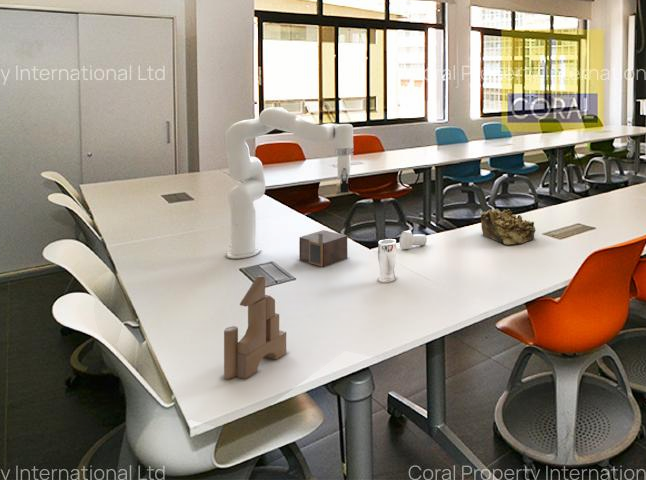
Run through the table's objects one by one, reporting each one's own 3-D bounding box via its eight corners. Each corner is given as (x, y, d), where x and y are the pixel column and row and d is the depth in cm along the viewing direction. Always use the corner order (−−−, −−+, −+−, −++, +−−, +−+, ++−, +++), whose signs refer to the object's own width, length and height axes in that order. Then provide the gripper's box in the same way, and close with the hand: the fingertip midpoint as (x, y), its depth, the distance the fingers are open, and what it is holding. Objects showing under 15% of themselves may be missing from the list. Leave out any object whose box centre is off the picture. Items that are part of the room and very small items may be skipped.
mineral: (544, 235, 267) (544, 205, 267) (514, 248, 246) (515, 216, 246) (501, 226, 282) (501, 198, 282) (470, 238, 261) (470, 208, 261)
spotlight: (396, 244, 247) (401, 228, 247) (418, 244, 254) (423, 228, 254) (403, 252, 241) (408, 235, 241) (425, 252, 248) (430, 235, 248)
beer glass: (400, 277, 211) (400, 240, 211) (389, 284, 205) (389, 245, 204) (385, 275, 213) (385, 238, 213) (374, 281, 207) (374, 243, 207)
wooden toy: (268, 349, 156) (268, 265, 156) (286, 353, 154) (286, 267, 154) (221, 378, 141) (221, 284, 141) (240, 382, 139) (240, 288, 139)
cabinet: (323, 267, 222) (323, 243, 222) (299, 260, 230) (299, 237, 230) (347, 258, 232) (347, 235, 232) (323, 252, 240) (323, 230, 240)
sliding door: (321, 266, 221) (321, 234, 221) (308, 263, 225) (308, 231, 225) (323, 266, 222) (323, 233, 221) (310, 262, 226) (310, 230, 225)
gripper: (335, 149, 243) (335, 186, 244) (334, 155, 227) (335, 194, 228) (352, 148, 246) (353, 185, 247) (353, 154, 230) (353, 193, 230)
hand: (344, 189), depth 237 cm, fingers open, 9 cm apart
